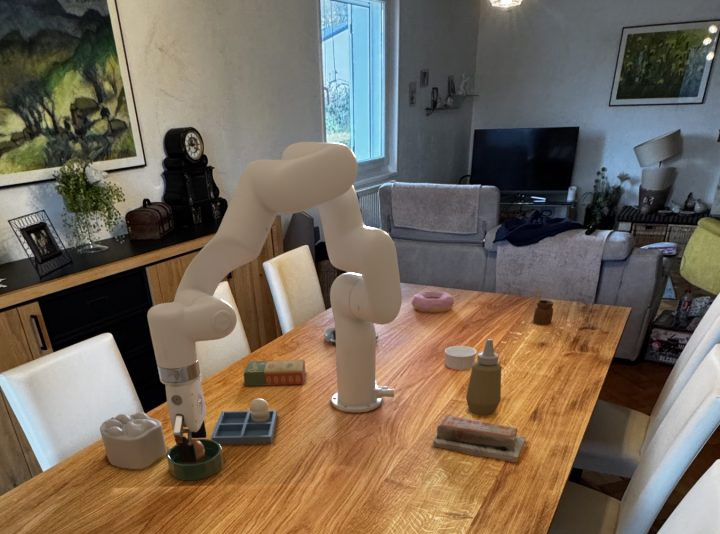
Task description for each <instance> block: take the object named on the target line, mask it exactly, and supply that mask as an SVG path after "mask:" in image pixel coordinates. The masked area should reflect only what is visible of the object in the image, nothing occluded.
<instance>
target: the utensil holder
mask: <svg viewBox="0 0 720 534" xmlns="http://www.w3.org/2000/svg"><path fill="white" fill-rule="evenodd" d="M551 292H554V293H553V294H552V293H550V294H549V293H548V295H547V296H548V297H546V298H547V299H540V297H541V295H540V288H539V287H538V286H536V294H537V295H536V296H537V299H538V300H537V302H536V306H535V307H534V311H533V319H532V322H533V324H535V325H538V326H547V325H551V323H552V320H553V313H554V308H553V307H554V301H555V300H554V299H555V297H556V295H557V292H556V290H554V289H551ZM551 295H552V297H551ZM554 295H555V296H554ZM550 298H551V300H549V299H550Z"/></svg>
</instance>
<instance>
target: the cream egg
mask: <svg viewBox="0 0 720 534" xmlns="http://www.w3.org/2000/svg"><path fill="white" fill-rule="evenodd" d="M269 406H270V405H269V403H268V401H267V400H266V399H263V398H262V397H261V398H259V397H257V398H255V399H253V400H252V401H251V402H250V404H249V411H250V413H251V418H252V420H253V421H254V422H255V423H259V422H267V421H268V419H269V416H270V413H269V410H270V407H269Z"/></svg>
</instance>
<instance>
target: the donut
mask: <svg viewBox="0 0 720 534" xmlns="http://www.w3.org/2000/svg"><path fill="white" fill-rule="evenodd" d="M410 304H411V305H412V307H413V308H414V309H415V310H417V311H419V312H422V313H429V314H437V313H445V312H447V311H449V310H450V309H451V308H453V307H454V305H455V301H454V296H453V295H451V294H450V293H448V292H444V291H439V290H433V291H432V290H431V291H429V290H428V291H421V292H418V293H416V294H415V295H413V296H412V299H411V303H410Z"/></svg>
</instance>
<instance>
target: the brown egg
mask: <svg viewBox="0 0 720 534" xmlns="http://www.w3.org/2000/svg"><path fill="white" fill-rule="evenodd" d="M197 439H198V438H192V443H194V447H195V452H196V458H197V460H196V462H185V463H186V464H197V463H202V462H205V458H206V456H205V450H204V446H203V444H202V443H201V442H200V441H199V440H197Z"/></svg>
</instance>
